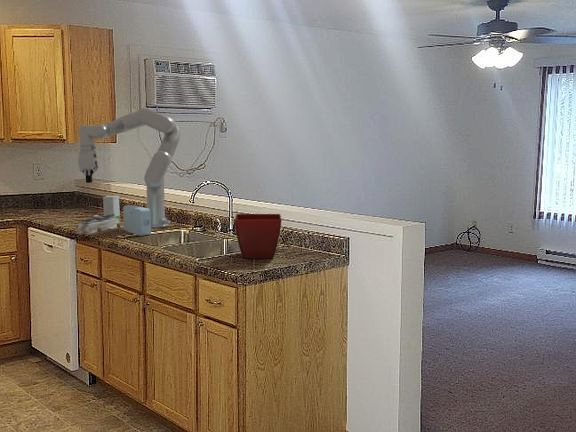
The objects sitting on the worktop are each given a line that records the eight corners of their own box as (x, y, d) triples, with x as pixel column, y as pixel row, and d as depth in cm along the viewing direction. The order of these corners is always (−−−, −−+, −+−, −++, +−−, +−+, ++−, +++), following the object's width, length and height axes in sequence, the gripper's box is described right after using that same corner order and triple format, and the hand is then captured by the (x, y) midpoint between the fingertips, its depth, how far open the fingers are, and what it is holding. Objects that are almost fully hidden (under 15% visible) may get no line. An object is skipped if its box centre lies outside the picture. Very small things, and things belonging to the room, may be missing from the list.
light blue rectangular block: (122, 230, 364) (121, 205, 363) (133, 229, 368) (132, 204, 366) (140, 236, 346) (139, 210, 344) (151, 235, 349) (150, 209, 347)
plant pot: (280, 251, 302) (280, 213, 300) (281, 260, 283) (281, 219, 281) (236, 252, 301) (236, 213, 299) (235, 260, 282) (234, 219, 280)
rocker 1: (95, 221, 357) (94, 217, 357) (90, 222, 354) (90, 218, 354) (86, 222, 360) (85, 218, 360) (81, 223, 357) (81, 219, 356)
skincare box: (114, 224, 386) (113, 196, 384) (103, 224, 387) (101, 196, 385) (120, 222, 394) (119, 195, 392) (109, 222, 396) (108, 195, 394)
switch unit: (127, 227, 373) (127, 218, 373) (96, 235, 350) (95, 225, 349) (106, 226, 379) (106, 217, 378) (74, 233, 355) (73, 223, 355)
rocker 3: (115, 217, 372) (114, 213, 372) (110, 217, 369) (110, 214, 368) (106, 218, 374) (105, 215, 374) (101, 219, 371) (101, 215, 371)
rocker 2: (105, 221, 365) (106, 217, 364) (101, 221, 361) (101, 218, 361) (96, 218, 367) (96, 214, 367) (92, 219, 364) (92, 215, 363)
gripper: (103, 148, 371) (105, 182, 373) (80, 148, 376) (82, 181, 379) (94, 148, 364) (96, 183, 366) (71, 148, 369) (73, 183, 372)
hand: (89, 182), depth 372 cm, fingers closed
